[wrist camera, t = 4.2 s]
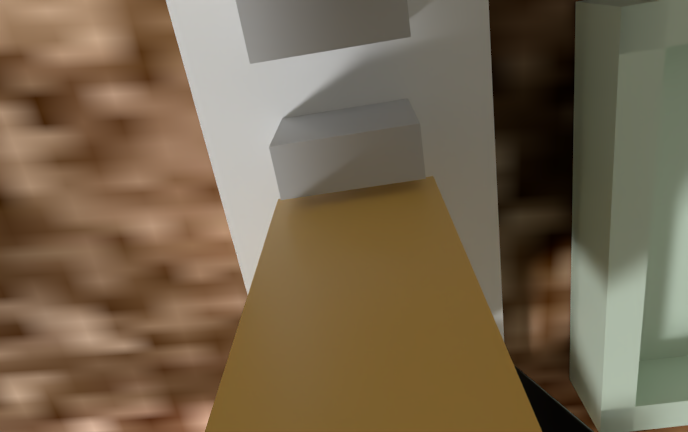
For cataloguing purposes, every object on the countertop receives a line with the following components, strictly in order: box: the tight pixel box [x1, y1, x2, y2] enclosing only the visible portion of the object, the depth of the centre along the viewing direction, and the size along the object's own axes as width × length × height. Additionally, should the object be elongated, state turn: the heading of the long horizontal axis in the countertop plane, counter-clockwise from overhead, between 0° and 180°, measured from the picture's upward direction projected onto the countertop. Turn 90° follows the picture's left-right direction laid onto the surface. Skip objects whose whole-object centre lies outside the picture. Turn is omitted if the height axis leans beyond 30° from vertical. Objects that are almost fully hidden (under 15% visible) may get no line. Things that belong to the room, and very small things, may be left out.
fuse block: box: [166, 0, 504, 341], centre depth 12 cm, size 26×6×3 cm, turn 9°
